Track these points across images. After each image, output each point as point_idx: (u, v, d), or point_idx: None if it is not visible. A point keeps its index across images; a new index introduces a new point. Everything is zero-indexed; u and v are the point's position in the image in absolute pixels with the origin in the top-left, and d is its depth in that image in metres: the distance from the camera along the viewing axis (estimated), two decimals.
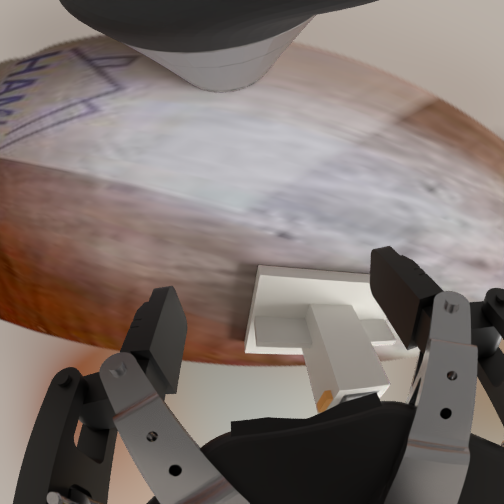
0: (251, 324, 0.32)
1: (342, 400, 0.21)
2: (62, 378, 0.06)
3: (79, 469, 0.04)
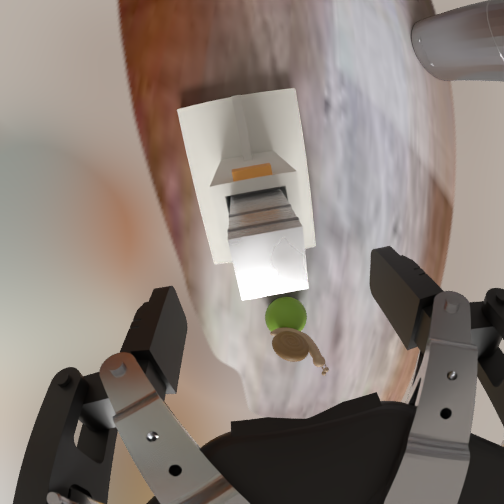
0: (226, 98, 0.25)
1: (268, 192, 0.17)
2: (62, 378, 0.06)
3: (79, 469, 0.04)
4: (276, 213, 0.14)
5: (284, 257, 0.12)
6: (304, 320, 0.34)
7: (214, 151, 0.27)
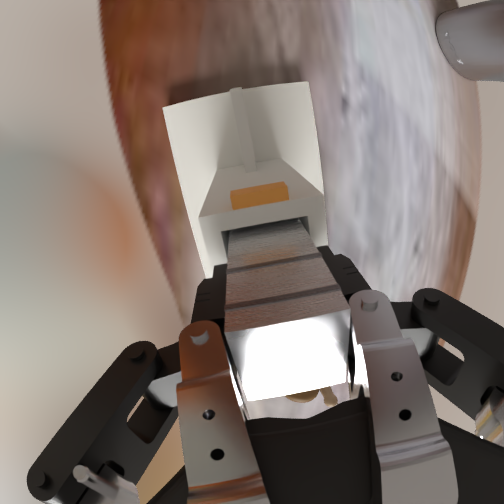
0: (223, 94, 0.20)
1: (282, 225, 0.12)
2: (135, 353, 0.07)
3: (122, 447, 0.05)
4: (301, 271, 0.09)
5: (316, 351, 0.07)
6: None
7: (208, 160, 0.22)
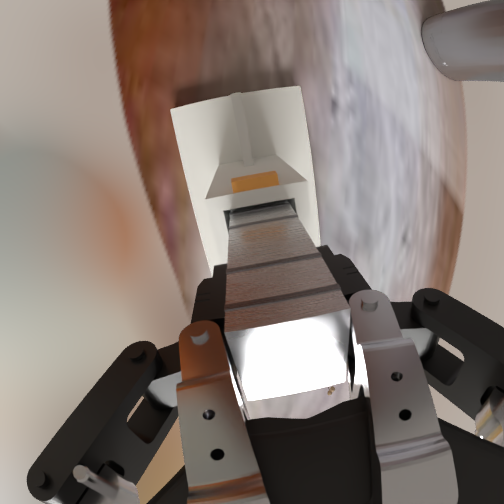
0: (225, 97, 0.22)
1: (282, 225, 0.12)
2: (135, 352, 0.07)
3: (122, 447, 0.05)
4: (301, 271, 0.09)
5: (316, 351, 0.07)
6: None
7: (210, 156, 0.25)
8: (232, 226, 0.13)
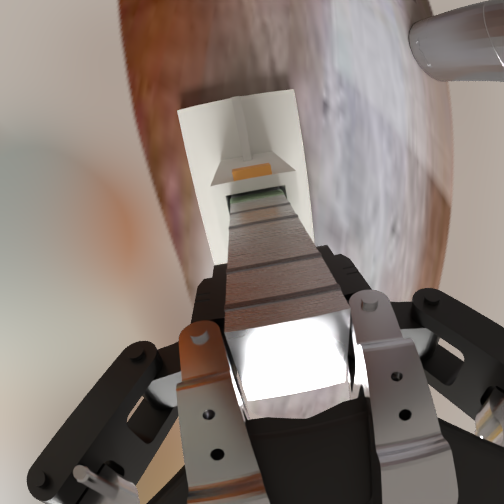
0: (226, 100, 0.25)
1: (282, 225, 0.12)
2: (135, 353, 0.07)
3: (122, 447, 0.05)
4: (301, 271, 0.09)
5: (316, 351, 0.07)
6: None
7: (213, 152, 0.27)
8: (232, 226, 0.13)
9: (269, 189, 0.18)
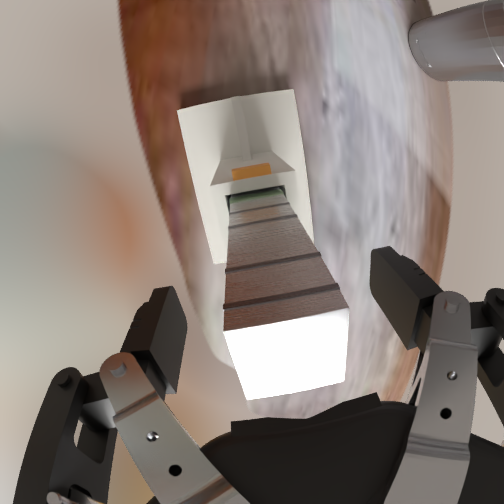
0: (226, 100, 0.25)
1: (282, 225, 0.12)
2: (63, 378, 0.06)
3: (79, 469, 0.04)
4: (300, 270, 0.09)
5: (315, 350, 0.07)
6: None
7: (213, 152, 0.27)
8: (232, 226, 0.13)
9: (268, 189, 0.18)
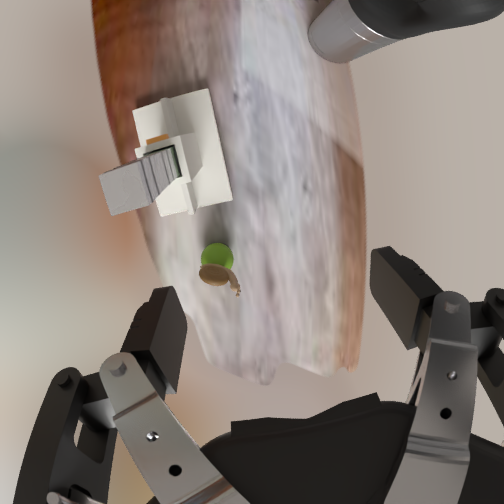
0: None
1: (150, 155, 0.23)
2: (62, 378, 0.06)
3: (79, 469, 0.04)
4: (135, 161, 0.19)
5: (129, 183, 0.18)
6: (229, 259, 0.45)
7: (156, 136, 0.38)
8: None
9: None
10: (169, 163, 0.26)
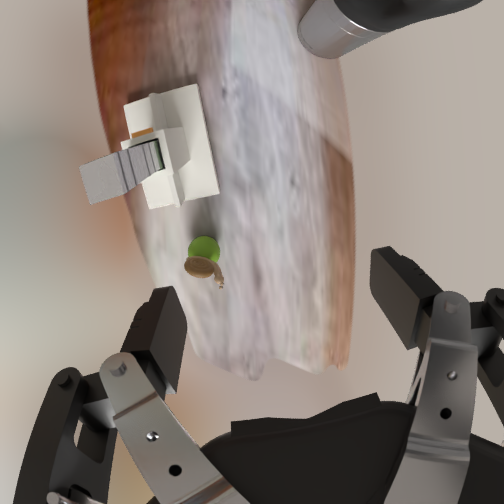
0: None
1: None
2: (62, 378, 0.06)
3: (79, 469, 0.04)
4: None
5: (106, 173, 0.18)
6: (215, 252, 0.45)
7: None
8: None
9: None
10: (151, 155, 0.26)
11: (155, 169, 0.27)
